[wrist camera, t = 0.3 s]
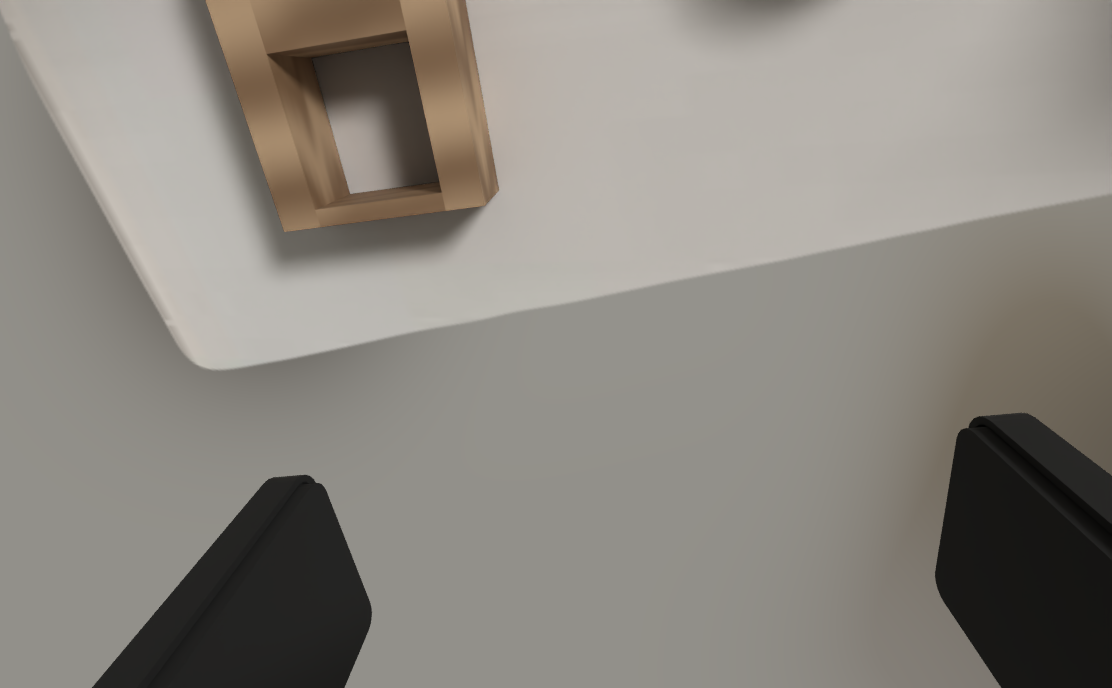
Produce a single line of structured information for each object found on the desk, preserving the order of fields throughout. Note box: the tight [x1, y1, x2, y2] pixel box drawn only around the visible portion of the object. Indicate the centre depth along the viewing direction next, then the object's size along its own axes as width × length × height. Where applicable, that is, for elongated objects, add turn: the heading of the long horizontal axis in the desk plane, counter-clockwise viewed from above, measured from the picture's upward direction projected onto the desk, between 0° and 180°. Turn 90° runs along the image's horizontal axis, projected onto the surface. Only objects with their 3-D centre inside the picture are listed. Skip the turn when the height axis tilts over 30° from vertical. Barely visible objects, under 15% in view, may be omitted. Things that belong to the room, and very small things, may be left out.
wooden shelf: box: [206, 0, 499, 232], centre depth 31 cm, size 16×12×5 cm
